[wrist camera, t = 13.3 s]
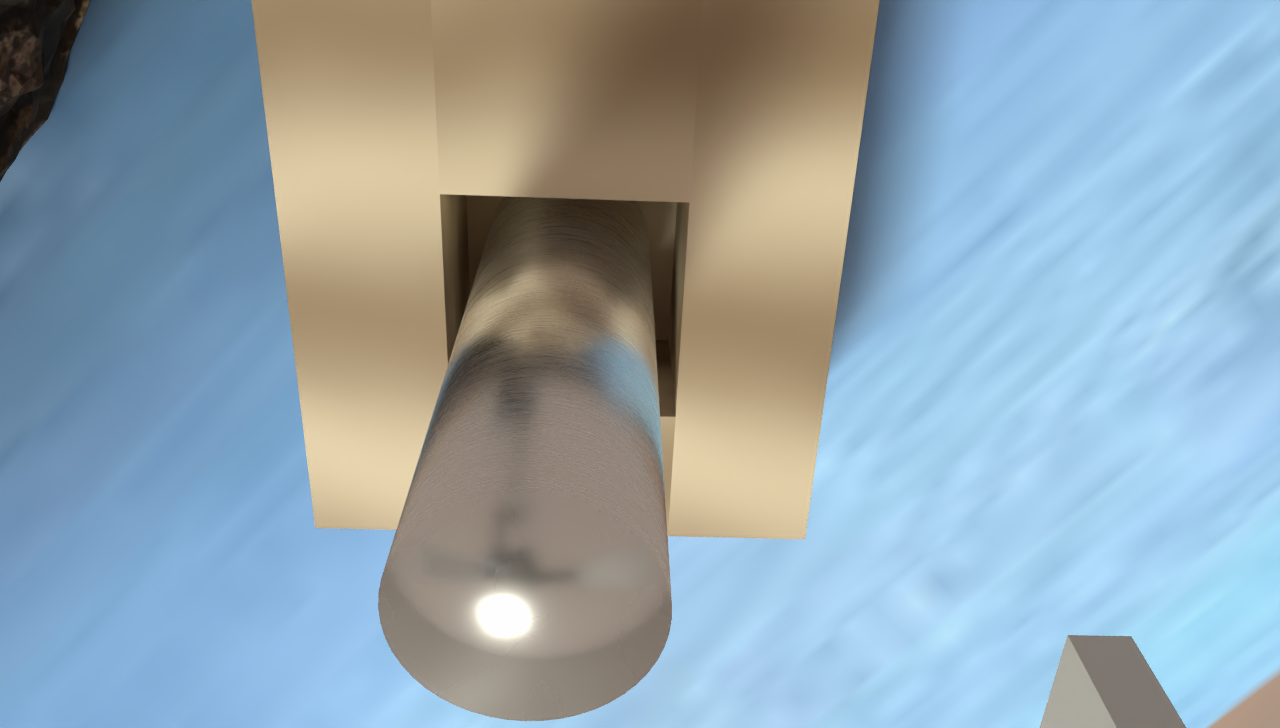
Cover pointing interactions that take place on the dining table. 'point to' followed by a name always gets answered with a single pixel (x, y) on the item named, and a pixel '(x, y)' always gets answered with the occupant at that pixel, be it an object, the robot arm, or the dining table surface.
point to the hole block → (575, 169)
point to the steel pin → (540, 477)
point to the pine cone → (32, 65)
